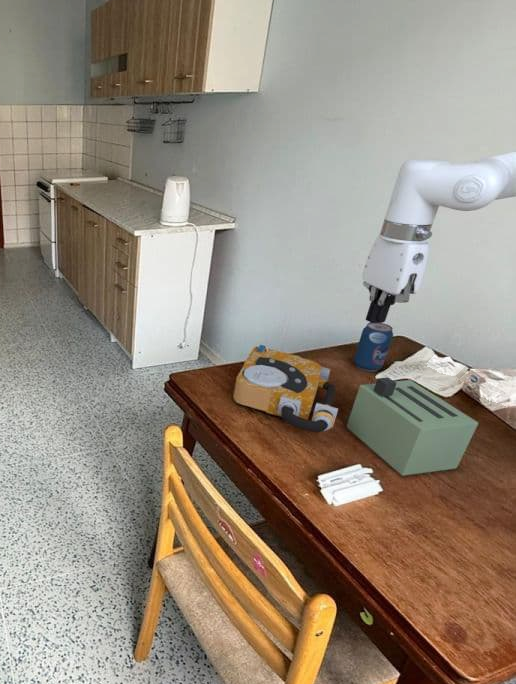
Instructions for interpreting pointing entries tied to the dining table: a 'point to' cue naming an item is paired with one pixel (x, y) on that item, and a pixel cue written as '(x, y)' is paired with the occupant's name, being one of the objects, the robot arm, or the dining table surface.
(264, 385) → the device
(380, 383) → the slider
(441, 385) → the dining table surface
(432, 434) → the toaster
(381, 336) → the soda can
